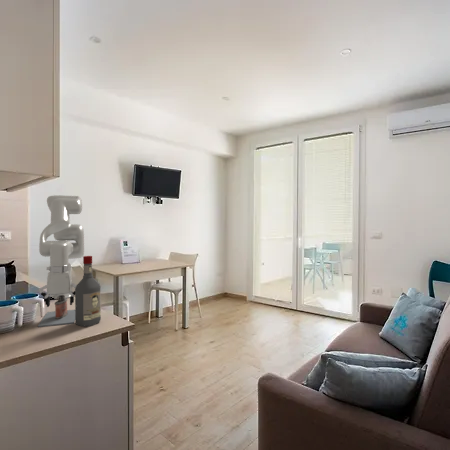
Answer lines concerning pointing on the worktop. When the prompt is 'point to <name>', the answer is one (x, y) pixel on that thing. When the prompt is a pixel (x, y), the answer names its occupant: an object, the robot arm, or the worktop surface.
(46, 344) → the worktop surface
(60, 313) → the lighter
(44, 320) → the mat
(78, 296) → the liquor
